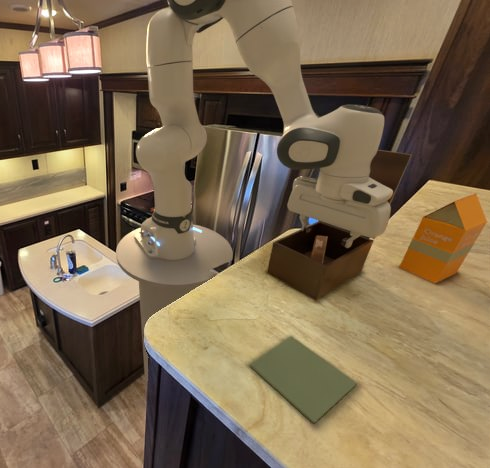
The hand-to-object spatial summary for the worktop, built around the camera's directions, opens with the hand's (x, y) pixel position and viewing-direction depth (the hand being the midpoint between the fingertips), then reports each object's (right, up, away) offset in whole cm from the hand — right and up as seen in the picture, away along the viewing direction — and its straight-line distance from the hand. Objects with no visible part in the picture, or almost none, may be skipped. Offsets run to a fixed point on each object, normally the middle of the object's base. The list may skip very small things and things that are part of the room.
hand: (324, 238), depth 70 cm
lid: (+8, +11, 0) cm, 14 cm away
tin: (+1, -9, +5) cm, 10 cm away
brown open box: (+1, -9, +5) cm, 11 cm away
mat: (-18, -24, -19) cm, 36 cm away
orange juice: (+28, -8, +3) cm, 29 cm away
